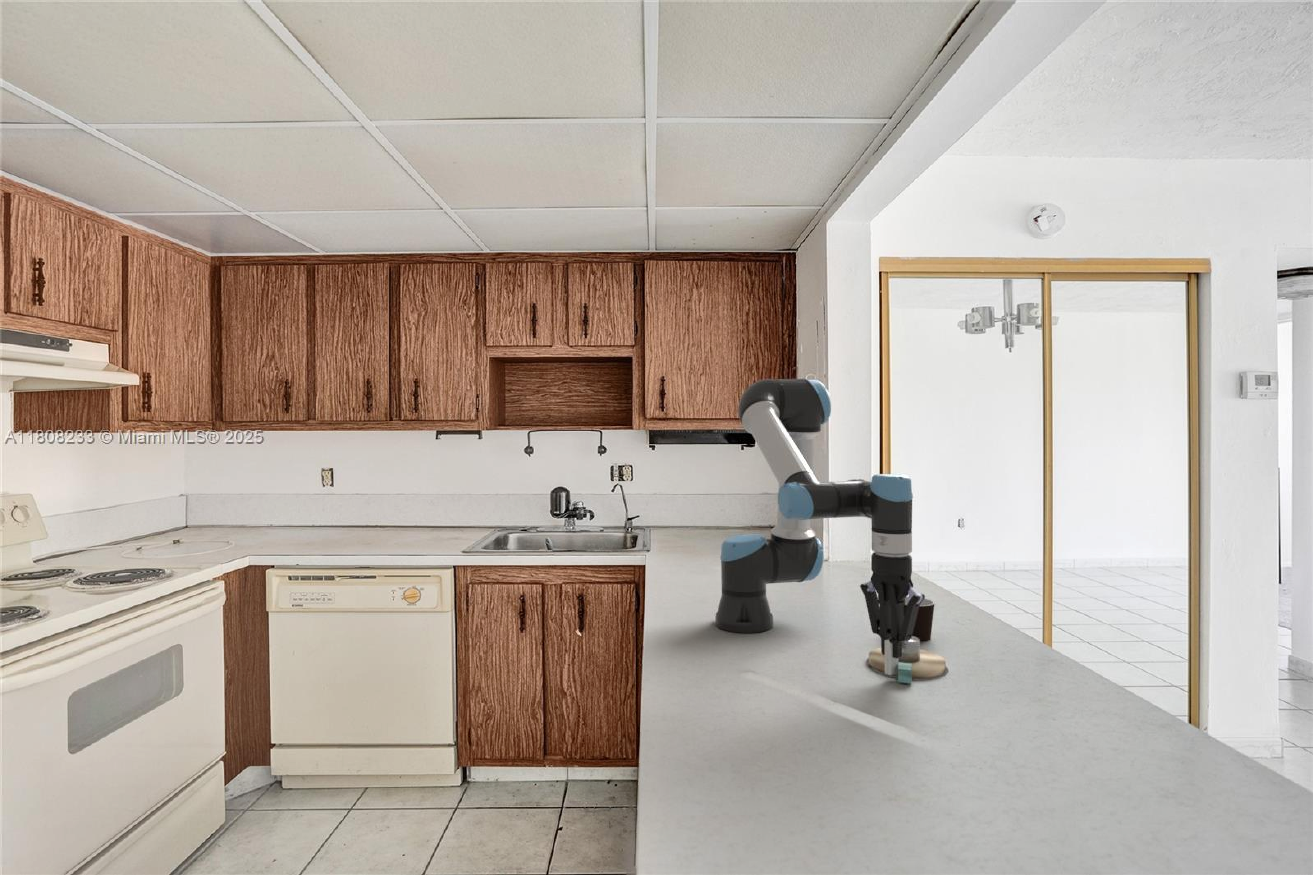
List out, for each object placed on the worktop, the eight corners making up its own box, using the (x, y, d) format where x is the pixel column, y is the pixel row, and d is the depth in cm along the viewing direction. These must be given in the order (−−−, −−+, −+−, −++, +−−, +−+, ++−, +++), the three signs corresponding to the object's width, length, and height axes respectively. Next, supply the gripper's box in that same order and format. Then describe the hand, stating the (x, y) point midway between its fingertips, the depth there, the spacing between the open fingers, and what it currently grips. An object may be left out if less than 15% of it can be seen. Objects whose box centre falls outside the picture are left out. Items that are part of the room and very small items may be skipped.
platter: (871, 650, 146) (871, 636, 146) (944, 658, 140) (944, 644, 140) (864, 679, 128) (863, 664, 128) (947, 690, 123) (947, 674, 123)
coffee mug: (938, 650, 149) (938, 606, 149) (899, 648, 151) (898, 605, 151) (928, 634, 161) (927, 594, 161) (891, 633, 163) (891, 593, 163)
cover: (888, 660, 134) (888, 636, 134) (890, 651, 140) (889, 628, 140) (920, 664, 132) (919, 639, 132) (920, 655, 138) (919, 631, 138)
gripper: (852, 550, 130) (852, 667, 131) (911, 560, 120) (911, 687, 121) (873, 546, 135) (874, 659, 135) (932, 555, 125) (932, 677, 125)
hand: (891, 672), depth 128 cm, fingers closed
